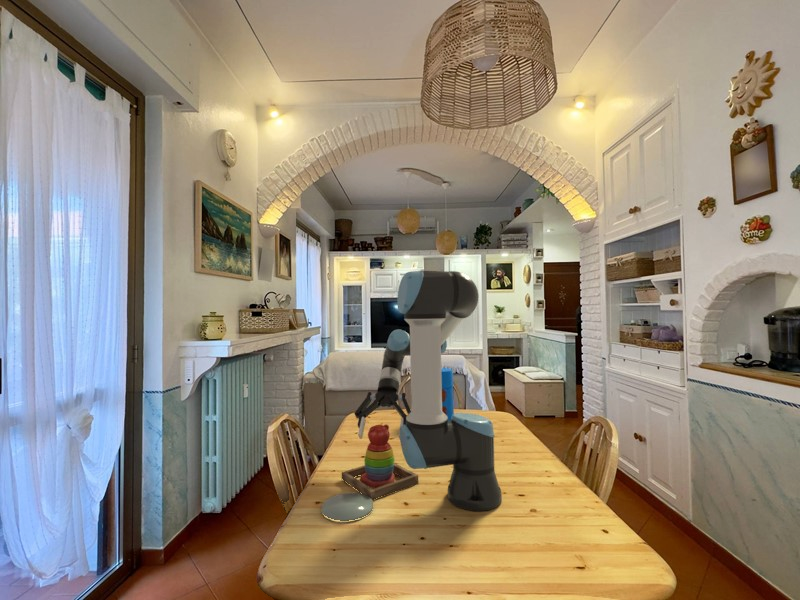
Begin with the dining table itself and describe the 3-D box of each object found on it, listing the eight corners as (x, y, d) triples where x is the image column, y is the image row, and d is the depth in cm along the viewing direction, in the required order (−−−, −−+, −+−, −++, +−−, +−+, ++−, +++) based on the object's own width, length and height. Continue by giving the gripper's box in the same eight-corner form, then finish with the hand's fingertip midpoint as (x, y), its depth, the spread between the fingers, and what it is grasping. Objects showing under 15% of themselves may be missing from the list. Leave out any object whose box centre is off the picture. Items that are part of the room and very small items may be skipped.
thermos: (455, 425, 179) (453, 371, 179) (432, 425, 179) (431, 371, 180) (452, 418, 189) (451, 368, 190) (430, 419, 190) (429, 368, 190)
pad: (383, 510, 103) (383, 506, 103) (337, 529, 95) (336, 524, 95) (356, 491, 114) (356, 488, 114) (312, 506, 106) (312, 503, 106)
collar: (418, 483, 119) (418, 475, 119) (371, 501, 108) (371, 492, 109) (386, 466, 133) (385, 458, 133) (341, 480, 122) (341, 472, 122)
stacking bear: (390, 472, 127) (389, 418, 128) (401, 485, 118) (400, 427, 118) (358, 478, 123) (357, 422, 124) (367, 492, 114) (366, 431, 115)
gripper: (424, 389, 141) (419, 444, 125) (358, 388, 145) (346, 441, 130) (421, 377, 135) (416, 433, 120) (354, 376, 140) (340, 430, 125)
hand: (380, 437), depth 125 cm, fingers open, 13 cm apart
